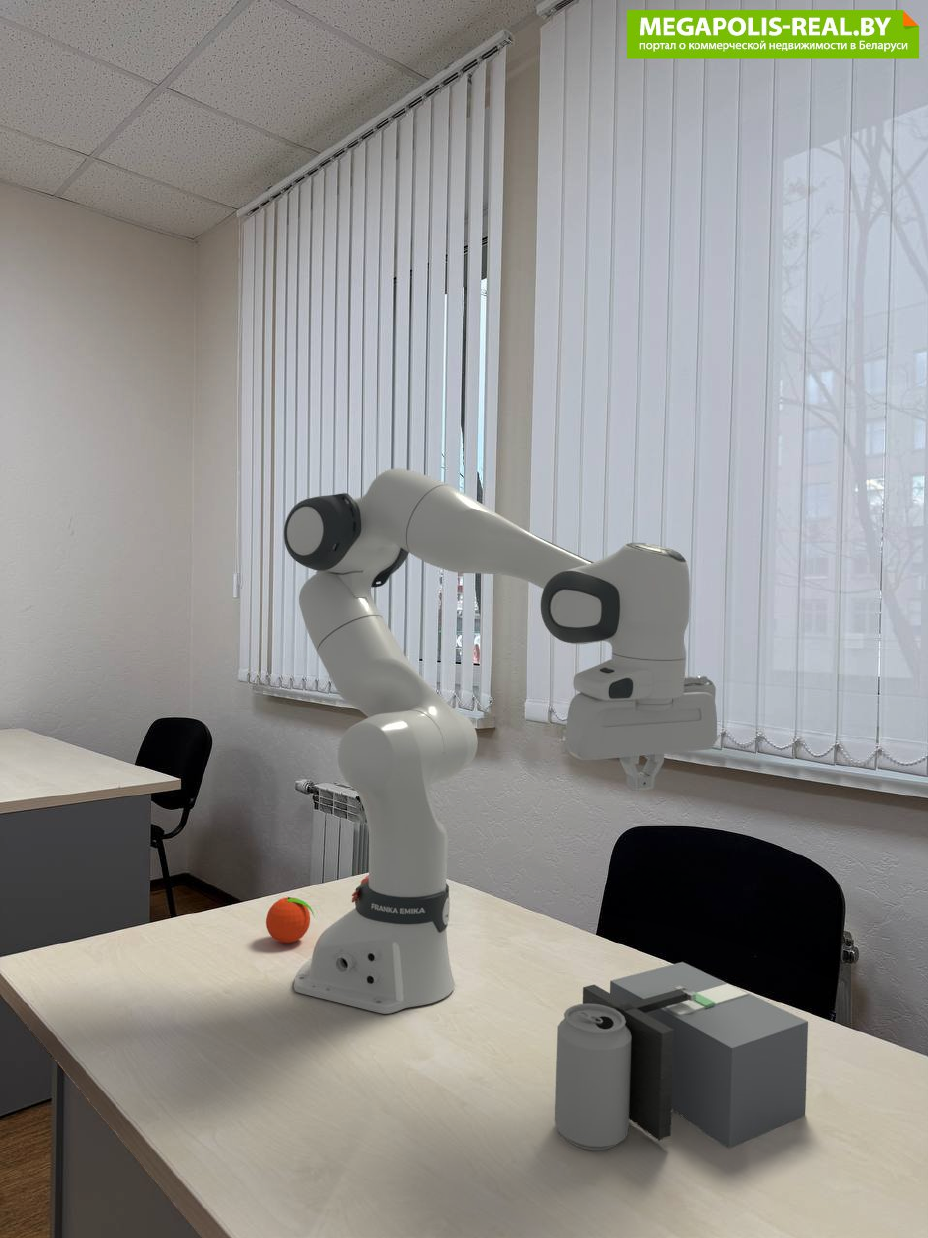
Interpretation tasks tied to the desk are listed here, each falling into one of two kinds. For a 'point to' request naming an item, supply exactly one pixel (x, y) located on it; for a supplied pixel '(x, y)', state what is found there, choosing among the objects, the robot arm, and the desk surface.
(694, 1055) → the gauge housing
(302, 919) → the clementine
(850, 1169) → the desk surface
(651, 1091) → the gauge plunger
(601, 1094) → the can
